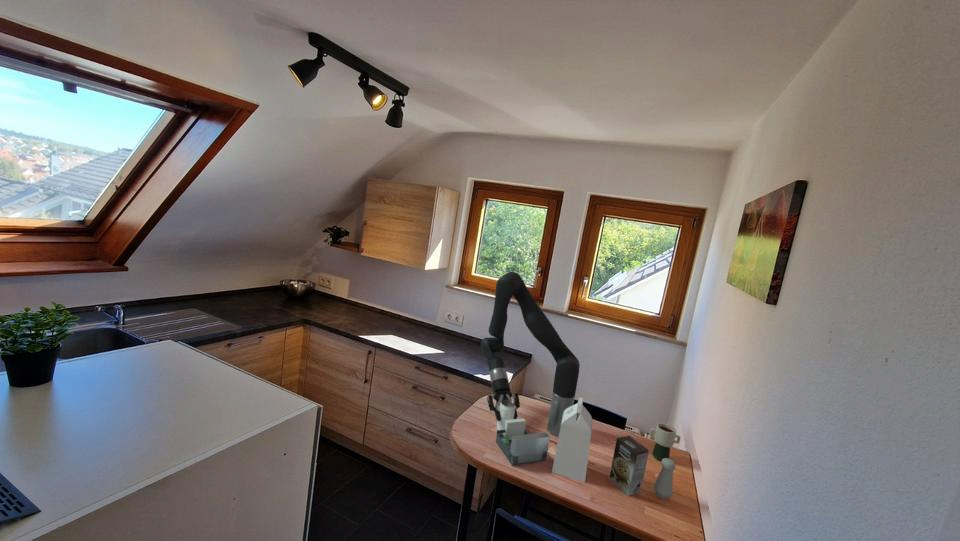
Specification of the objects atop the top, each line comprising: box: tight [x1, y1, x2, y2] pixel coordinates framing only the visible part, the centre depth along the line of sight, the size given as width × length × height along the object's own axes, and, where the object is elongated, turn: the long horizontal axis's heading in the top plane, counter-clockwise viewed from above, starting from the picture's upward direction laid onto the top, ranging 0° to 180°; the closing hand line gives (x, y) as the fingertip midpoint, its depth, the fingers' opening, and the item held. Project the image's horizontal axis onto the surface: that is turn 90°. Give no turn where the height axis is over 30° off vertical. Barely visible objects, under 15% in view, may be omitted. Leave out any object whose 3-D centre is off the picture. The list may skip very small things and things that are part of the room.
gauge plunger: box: [496, 417, 526, 441], centre depth 153 cm, size 12×2×8 cm, turn 112°
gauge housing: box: [495, 428, 551, 467], centre depth 148 cm, size 14×15×10 cm
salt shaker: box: [653, 458, 676, 500], centre depth 132 cm, size 6×6×13 cm
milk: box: [551, 397, 593, 483], centre depth 140 cm, size 12×12×26 cm
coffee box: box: [608, 435, 650, 497], centre depth 134 cm, size 9×6×16 cm
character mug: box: [649, 422, 681, 461], centre depth 154 cm, size 11×7×13 cm, turn 68°
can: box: [496, 400, 515, 434], centre depth 161 cm, size 6×6×12 cm
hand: (507, 419), depth 159 cm, fingers open, 6 cm apart
